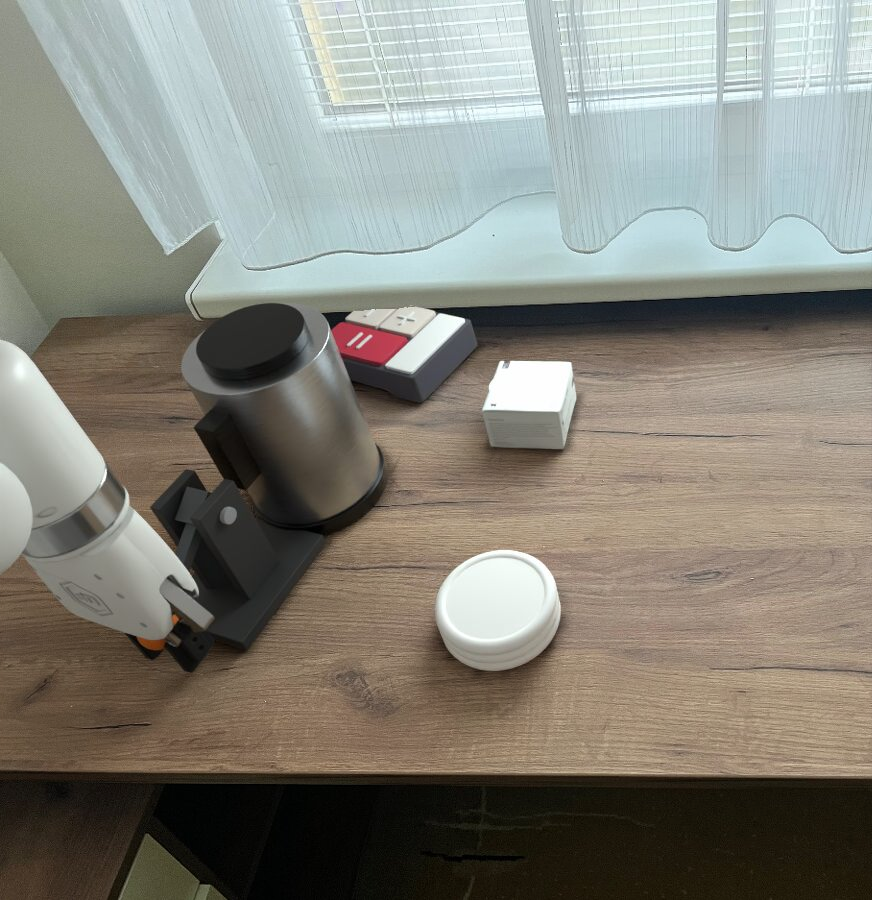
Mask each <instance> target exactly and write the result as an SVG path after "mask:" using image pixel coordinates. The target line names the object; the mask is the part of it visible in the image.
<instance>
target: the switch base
mask: <svg viewBox="0 0 872 900" xmlns="http://www.w3.org/2000/svg"><path fill="white" fill-rule="evenodd" d="M186 487H191V488H195V489H199V490H203V491H207V492H208V490H207V488H206V486H205V485H204V483H203V481H202V480H201V478H200V477H199V475H198V474H197V472H196V471H195V470H191V469H187V468H186V469H184V470H183V471H182V472H181V473H180V474H179V476H178V477H176V479H175V480H174V481H173V482H172V483H171V484H170V485H169V486H168V487H167V488H166V489H165V490H164V491H163V493H161V495H159V496H158V497H157V499H156V500H155V501H154V502H153V503H152V504H151V505H150V506H149V509H150V510H151V511H152V513H153V514H154V516H155V517H156V519H157V520H158V521H159V523H160V524H161V526H162V527H163V529H164V530H165V532H166V533H167V534H168V536H169V537H170V538H171V540H172V541H173V543H174V545H175V546H176V548H177V547H178V545H179V542H180V539H181V536H182V533H183V531H184V528H185V525H186V523H185V522H181V521H178V520H175V518H176V515H177V512H178V510H179V507H180V504H181V501H182V498H183V496H184V493H185V490H186ZM210 493H211V494H210V495H209V496H208V498H207V499H206V500H205V501H204V502H203V503H202V504H201V505H200V506H199V508H198V509H197V510H196V511H195V512H194V513H193V514H192V515H191V517H190V520H191V521H192V523H193V524H194V526H195V527H196V529H197V530H198V532H199V533H200V535H201V536H202V537H201V540H200V543H199V546H198V549H197V551H196V554H195V557H194V560H193V563H192V566H191V568H190V569H192V570H193V572H194V573H193V574H192V575H191V576H192V578H193V579H194V581H195V583H196V585H197V587H198V590H199V596H198V597H196V598H193V599H194V600H195V601H196V602H197V603H199V604H200V605H201V606H202V607H204V608H205V609H206V610H207V611H208V612H210V613H211V614H212V615H213V616H214V617H215V619H214V620H213V622H212V623H211V624H210V626H209V627H208V628H207V629H206V630H207V631H208V632H209V634H210V635H211V636H212V638H213V639H214V641H216V642H219V643H222V644H226V645H229V646H231V647H235V648H238V649H241V650H243V651H248V650H249V649H250V648H251V646H252V645H253V643H254V642H255V641H256V639H257V638H258V637H259V636H260V634H261V633H262V631H263V630H264V628H265V627H266V626H267V624H268V623H269V622H270V620H271V619H272V618H273V617H274V615H275V614H276V612H277V611H278V609H279V608H280V607H281V605H282V604H283V603H284V601H286V598H287V597H288V596H289V595H290V593H291V592H292V591H293V590H294V588H295V587H296V585H297V584H298V582H299V581H300V580H301V579H302V577H303V576H304V574H305V573H306V571H307V570H308V569H309V568H310V566H311V565H312V564H313V562H314V561H315V560H316V558H317V557H318V556H319V554H320V553H321V551H322V550H323V549H324V547H325V546H326V544H327V541H326V540H325V537H324V535H320V534H316V533H312V532H308V531H305V530H286V529H281V528H277V527H274V526H272V525H270V524H268V523H266V522H265V521H263V520H262V519H259V517H255V515H254V514H253V512H252V511H251V509H250V507H249V505H248V503H247V502H246V500H245V498H244V496H243V495H242V493H241V491H240V489H238V488H237V486H236V484H235V482H234V481H232V480H228V479H222V481H221V482H220V483H219V484H218V485H217V486H216V488H214V490H213V491H212V492H210ZM191 598H192V597H191ZM175 615H176V616H177V617H178V619H180V618H181V617H180V616H178V615H177V614H176V613H175Z"/></svg>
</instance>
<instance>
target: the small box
mask: <svg viewBox="0 0 872 900" xmlns="http://www.w3.org/2000/svg"><path fill="white" fill-rule="evenodd" d="M576 402H577V392H576V385H575V378H574V372H573V365H572V362H569V361H531V360H530V361H526V360H499V362H498V364H497V366H496V370H495V372H494V375H493V379H492V380H491V381H490V383H489V384H488V392H487V395H486V398H485V401H484V403H483V407H482V409H481V414H482V417H483V422H484V426H485V429H486V433H487V437H488V441H489V446H491V447H492V448H511V449H544V450H545V449H546V450H564V449H565V446H566V442H567V437H568V434H569V428H570V424H571V420H572V417H573V412H574V409H575V405H576Z"/></svg>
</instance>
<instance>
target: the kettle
mask: <svg viewBox="0 0 872 900" xmlns="http://www.w3.org/2000/svg"><path fill="white" fill-rule="evenodd" d="M331 330H332V329H331V327H330V324H329V321H328V320H327V318H326V317H325V316H324V315H323V314H322V312H320V311H319V310H317V309H315V308H313V307H311V306H308V305H305V304H300V303H293V302H265V303H263V302H262V303H256V304H252V305H248V306H244V307H241V308H239V309H235V310H233V311H231V312H229V313H227V314H225V315H223V316H221V317H220V318H218V319H217V320H215V321H214V322H212V323H211V324H210V325H209V326H208V327H207V328H206V329H204V330H203V331H202V332H201V333H200V334H198V336H196V337H195V338H194V340H192V342H191V343H190V344H189V346H188V347H187V349H186V350H185V352H184V354H183V356H182V359H181V364H180V365H181V366H180V367H181V371H180V372H181V374H182V377H183V378H184V381H185V382H186V384H187V386H188V387H189V389H190V391H191V393H192V395H193V397H194V398H195V400H196V402H197V403H198V405H199V407H200V409H201V411H202V413H203V414H204V416H203V417H202V418H201V419H199V421H198V422H197V423H196V424H195V425H194V426H193V429H194V431H195V433H196V435H197V436H198V438H199V439H200V441H201V443H202V445H203V446H204V448H205V450H206V451H207V453H208V455H209V457H210V458H211V460H212V462H213V464H214V465H215V467H216V469H217V470H218V472H219V474H220V476H221V478H222V480H224V479H228V480H232V481H234V482H235V484H236V486H237V488H238V489H239V490H241V491H245V492H246V491H247V492H248V495H249V499H250V503H251V506H252V508H253V510H254V513H255V514H256V515H257V518H258V519H262V520H263V521H265V522H266V523H268V524H270V525H272V526H274V527H277V528H281V529H286V530H305V531H308V532H312V533H316V534H320V535H323V536H327V535H331V534H333V533H336V532H339V531H340V530H343V529H346V528H347V527H349V526H351V525H353V524H354V523H356V522H358V521H359V520H361V519H362V518H363V517H364V516H365V515H366V514H368V513H369V512H370V511H371V510H372V509H373V508H374V507H375V506H376V504H377V503H378V502H379V501H380V499H381V497H382V496H383V494H384V492H385V489H386V487H387V484H388V479H389V470H388V465H387V462H386V460H385V457H384V454H383V452H382V450H381V448H380V447H379V445H378V444H377V443H376V442H375V440H374V437H373V435H372V432H371V429H370V427H369V425H368V422H367V419H366V417H365V414H364V411H363V409H362V406H361V404H360V401H359V399H358V396H357V394H356V391H355V388H354V386H353V384H352V380H350V378H349V375H348V373H347V370H346V368H345V365H344V363H343V360H342V357H341V355H340V352H339V350H338V347H337V345H336V342H335V340H334V337H333V334H332V332H331Z"/></svg>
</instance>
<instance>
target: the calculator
mask: <svg viewBox="0 0 872 900" xmlns="http://www.w3.org/2000/svg"><path fill="white" fill-rule="evenodd" d="M344 319H345V320H344V321H343V322H339V323H337V324H336V325H335V326H334V327H333V328H332V329H331V332H332V334H333V337H334V340H335V342H336V345H337V347H338V350H339V352H340V355H341V357H342V360H343V363H344V365H345V368H346V370H347V373H348V375H349V378H350V381H351V382H352V381H353V382H356V383H359V384H364V385H367V386H371V387H374V388H378V389H381V390H385V391H388V392H389V393H390V394H392V395H393V396H394V397H396V398H400V399H402V400H403V399H404V400H407V401H411V402H415V403H418V404H421V403H423V402H425V401H426V400H427V399H428V398H429V397H430V396H431V395H432V394H433V393H434V392H435V391H436V389H437V388H438V387H440V385H442V383H443V382H444V381H445V380H446V379H447V378H448V377H449V376H450V375H451V374H452V373H453V372H454V371H455V370H456V369H457V368H458V367H459V366H460V365H461V364H462V363H463V362H464V361H465V360H466V359H467V358H468V357H469V356H470V354H471V353H473V352H474V350H475V349H476V348H477V347H478V341H477V338H476V334H475V332H474V328H473V324H472V321H471V319H468V318H463V317H459V316H455V315H451V314H446V313H442V312H437V311H435V310H433V309H428V308H423V307H420V306H415V307H408V308H407V307H404V308H399V309H376V310H375V309H371V310H364V311H354V310H353V311H351V313H349V314H348V315H347V316H346V317H345V318H344Z"/></svg>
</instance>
